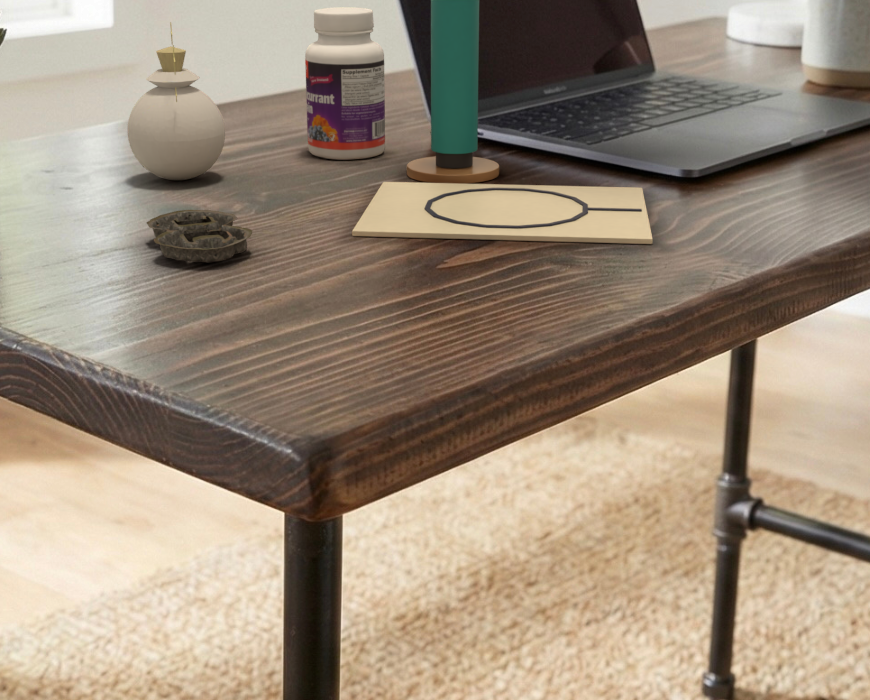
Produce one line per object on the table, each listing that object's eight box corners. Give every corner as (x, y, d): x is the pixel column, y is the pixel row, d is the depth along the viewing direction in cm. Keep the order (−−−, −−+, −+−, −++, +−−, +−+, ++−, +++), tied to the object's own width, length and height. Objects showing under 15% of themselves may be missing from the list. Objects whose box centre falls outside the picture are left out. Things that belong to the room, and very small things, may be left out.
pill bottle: (295, 149, 92) (290, 8, 88) (363, 142, 94) (361, 4, 91) (328, 164, 87) (324, 15, 84) (398, 155, 90) (397, 11, 87)
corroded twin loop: (230, 223, 72) (229, 205, 72) (264, 261, 65) (263, 241, 64) (138, 231, 70) (137, 213, 70) (163, 271, 63) (162, 250, 63)
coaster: (501, 165, 87) (501, 156, 87) (496, 185, 81) (496, 175, 81) (412, 163, 88) (412, 154, 87) (401, 183, 82) (401, 173, 82)
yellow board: (641, 192, 80) (642, 185, 79) (652, 244, 68) (652, 237, 68) (383, 186, 81) (383, 179, 81) (352, 236, 70) (352, 228, 70)
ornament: (223, 167, 86) (215, 12, 83) (233, 192, 80) (224, 25, 76) (130, 171, 85) (118, 14, 82) (132, 197, 78) (118, 27, 75)
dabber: (480, 160, 86) (483, -46, 81) (477, 170, 83) (479, -43, 78) (432, 159, 86) (432, -46, 81) (427, 169, 83) (426, -43, 78)
